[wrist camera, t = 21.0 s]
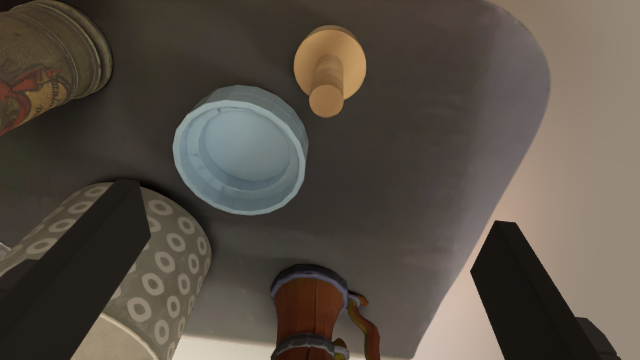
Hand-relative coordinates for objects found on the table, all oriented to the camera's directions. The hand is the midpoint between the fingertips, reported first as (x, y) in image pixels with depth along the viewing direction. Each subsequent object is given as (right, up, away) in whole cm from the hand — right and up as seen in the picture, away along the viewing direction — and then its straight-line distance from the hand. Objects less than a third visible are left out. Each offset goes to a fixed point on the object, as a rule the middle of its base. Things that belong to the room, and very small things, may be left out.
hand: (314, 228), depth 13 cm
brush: (+1, +14, +21) cm, 25 cm away
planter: (-23, -5, +34) cm, 42 cm away
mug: (+2, -15, +40) cm, 42 cm away
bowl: (-8, +6, +26) cm, 28 cm away
